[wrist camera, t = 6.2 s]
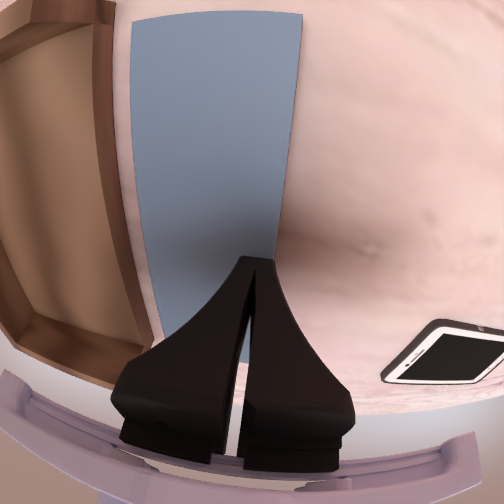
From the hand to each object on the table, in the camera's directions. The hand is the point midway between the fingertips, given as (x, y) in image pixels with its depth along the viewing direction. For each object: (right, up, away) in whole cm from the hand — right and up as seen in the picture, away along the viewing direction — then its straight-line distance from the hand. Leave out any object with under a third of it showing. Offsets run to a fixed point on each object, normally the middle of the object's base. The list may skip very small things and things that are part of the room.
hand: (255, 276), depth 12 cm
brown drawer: (-13, +4, +2) cm, 13 cm away
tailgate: (-5, +3, +2) cm, 6 cm away
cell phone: (+18, -8, +7) cm, 21 cm away
